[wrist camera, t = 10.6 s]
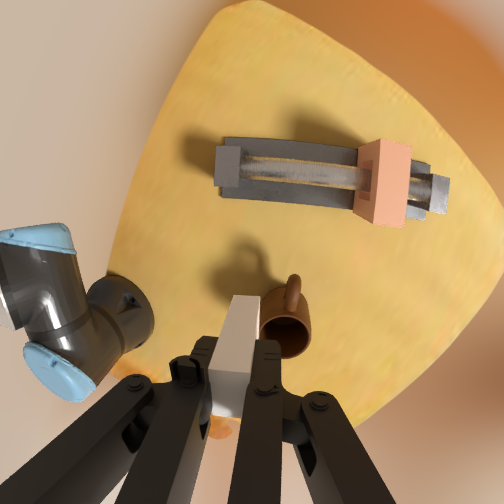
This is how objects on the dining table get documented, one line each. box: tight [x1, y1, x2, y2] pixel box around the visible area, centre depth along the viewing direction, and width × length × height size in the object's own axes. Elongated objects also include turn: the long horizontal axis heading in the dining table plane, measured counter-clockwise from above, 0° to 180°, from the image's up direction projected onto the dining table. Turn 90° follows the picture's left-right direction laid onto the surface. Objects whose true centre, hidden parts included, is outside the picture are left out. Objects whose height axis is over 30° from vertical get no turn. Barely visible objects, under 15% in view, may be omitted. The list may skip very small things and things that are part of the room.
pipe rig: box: [214, 138, 450, 221], centre depth 33 cm, size 32×9×8 cm, turn 87°
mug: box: [258, 274, 311, 359], centre depth 38 cm, size 12×8×9 cm, turn 172°
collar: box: [353, 139, 412, 228], centre depth 31 cm, size 4×10×10 cm, turn 177°
